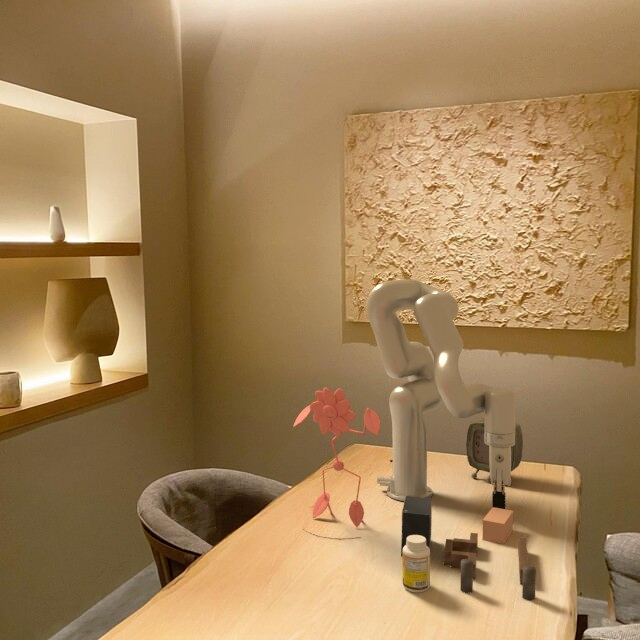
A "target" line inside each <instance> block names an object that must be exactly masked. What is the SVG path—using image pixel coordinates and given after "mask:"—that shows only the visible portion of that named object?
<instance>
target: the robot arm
mask: <svg viewBox="0 0 640 640" xmlns="http://www.w3.org/2000/svg"><path fill="white" fill-rule="evenodd" d="M365 307H366V314H367V318H368V319H367V320H368V321H369V323H370V327H371V330H372V332H373V334H374V338H375V342H376V344H377V347H378V352H379V355H380V358H381V363H382V365H383V368H384V371H385V373H386V374H387V376H388V377H390V378H392V379H393V380H394V379H395V380H400V379H405V378H407V382H403V383H401V384H399V385H398V386H396V387H395V388H393V390H392V391H391V393H390V395H389V401H388V402H389V403H388V404H389V405H388V406H389V411H390V416H391V423H392V424H391V427H392V434H391V435H392V476H388V477H384V476H377V478H376V482H377V485H378V484H379V486H380V487H387V488H386V494H387V496H388V497H389V498H391V499H394V500H396V501H401V502H405V497H406V496H411V497H421V498H432V496H433V490H432V488H431V487H429V486H428V485H427V484H428V483H427V482H428V480H427V479H428V477H427V475H428V471H427V470H428V430H427V424H426V422H425V417H424V414H426V413H429V412H431V411H434V410H436V409H437V408H438V407H440V404H441V403H442V401H443V403H444V406H445V407H446V410H448V411H449V413H450V414H451V415H452V416H453V417H456V418H457V419H466V418H470V417H472V416H475V415H478V414H483V413H484V418H485V428H484V443H485V444H486V445H489V468H490V472H489V479H490V484H491V485H492V486H493V487H492V488H493V490H492V493H491V494H492V495H491V496H492V497H491V500H492V503H491V506H492V507H495V508H500V509H506V491H505V488H506V487H505V486H508V487H510V486H512V485H511V481H512V480H511V479H512V478H511V477H512V472H511V446H514V445H515V423H516V412H517V411H516V409H517V408H516V407H517V406H516V404H517V403H516V402H517V401H516V400H517V397H516V393H515V391H514V390H512V389H511V388H505V387H493V386H490V385H486V384H482V383H472V384H469V385H465V384H464V382H463V379H462V377H461V373H460V371H459V359H460V355H461V353H462V351H463V348H464V341H463V339H462V337H461V335H460V333H459V330H458V329H457V326H456V324H455V323H454V321H455V319H456V318H457V316H458V314H459V305H458V301H457V300H456V298H455V297H454V296H453V295H451V294H450V293H448V292H447V291H444V290H442V289H440V288H436V287H434V286H432V285H429V284H427V283H425V282H422V281H419V280H417V279H393V280H387V281H383V282H381V283H379V284H377V285H375V286H374V287H373V288H372V290H371V291H370V293H369V295H368V297H367V300H366V306H365ZM406 310H412V311H413V314H414V315H413V316H414V317H415V319H416V322H417V323H418V326H419V328H420V330H421V332H422V334H423V336H424V339H425V341H426V343H427V345H428V347H429V349H428V348H427V346H426V345H424V344H423V343H421V342H419V341H409V339H408V336H407V334H406V329H405V327H404V324H403V323H402V321H401V320H400V318H399V317H398V316H397V312H398V311H406ZM430 351H431V352H430ZM431 353H432V354H431ZM432 355H433V356H432ZM492 507H491V508H492Z"/></svg>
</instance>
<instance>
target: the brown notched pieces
mask: <svg viewBox="0 0 640 640" xmlns="http://www.w3.org/2000/svg"><path fill="white" fill-rule="evenodd" d="M469 536H470V537H469V539H467V538H455V537H454V538H453V539H451V538H446V539H445V542H444V550H443V566H445V567H450V569H455V570H456V569H457V570H460V589H459V590H460V592H462V593H464V592H465V594H471V593H473V591H474V590H473V589H474V588H473V585H474V583H473V581H474V580H475V579H476V569H477V557H478V547H479V546H478V542H479V541H478V540H479V539H478V537H479V533H477V532H470V535H469ZM517 542H518V544H517V545H518V546H517V549H518V550H517V553H518V556H517V557H518V570H519V573H518V574H519V585H522V592H521V593H522V595H521V596H522V598H523V599H524V600H525V601H526V600H527V601H534V600H535V599H536V576H537V575H536V574H537V573H536V571H537V568H536V567H535V566H534V565H529V559H528V548H527V539H526V537H522V536H521V537H520V536H518V541H517ZM470 592H471V593H470Z"/></svg>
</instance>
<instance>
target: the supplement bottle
mask: <svg viewBox="0 0 640 640" xmlns="http://www.w3.org/2000/svg"><path fill="white" fill-rule="evenodd" d="M402 586H403V587H404V589H405V590H406V591H409V592H412V593H423V592H425V591H427V590H429V589H430V586H431V549H429V548H428V547H427V546H426V538H425V537H423V536H420V535H410V536H408V537H407V539H406V545H405V546H404V547H403V556H402Z"/></svg>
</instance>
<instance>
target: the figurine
mask: <svg viewBox="0 0 640 640" xmlns="http://www.w3.org/2000/svg"><path fill="white" fill-rule="evenodd" d="M314 396H315V399H316V401H313V402H311V404H310V405H307V406H306V407H305V408H303V410H302V411H301V412H300V413H299V414H298V416H297V417H296V419H295V421H294V423H293V427H292V428H295V427H297V426H299V425H300V424H301V423H303V422H304V421H305V420H306V419H307V418H308V416H309V415H310V413H311V412H313V415H312V421H313V422H314V423H316V424H319V429H320V432H321V434H322V435H327V434H329V432H331V433H332V434H333V435H334V437H333V438H331V442H330V444H331V446H332V451H333V454H334V456H335V459H336V460H335V461H334V462H333V464H332V466H329V467H326V468H323V469H322V484H323V485H322V486H323V493H322V494H321V495H320V496H319V497H318V498H317V499H316V500H315V502H314V504H313V505H312V506H309V508H312V509H313V510H312V518H313V519H314V518H317V517H318V516H320V515H321V514H323V513H324V512H325V511H326V509H327V508H328V511H329V514H333V511H332V508H331V506H330V499H331V498H330V494H329V493H328V492H326V487H325V485H326V484H325V471H328V470H329V469H332V468H333V470H335V471H337V472H340V471H343V470H344V471H345V472H348V473H349V474H352V475H354V476H356V477H358V485H357V491H356V492H357V493H356V499H354V500H352V501H351V502H350V505H349V508H348V515H349V518H350V520H351V522H352V523H353V525H354V526H355V527H356V528H358V527H360V525H361V523H362V521H363V519H364V517H365V515H364V514H365V510H364V507H363V504H362V503H361V501H359V492H360V488H361V486H360V485H361V479H362V477H361V476H360V475H358V474H356V473H355V472H352V471H350V470H348V469H346V468H344V467H345V464H344V462H343V461H342V460H341V459H338V455H337V450H336V447H335V443H334V441H336V440H337V438H340V437H341V436H342V434H343V433H348V432H351V433H355V434H358V435H365V434H366V431H367V430H368V431H369V432H370V433H371V434H372V435H375V436H376V437H378V436H379V433H380V429H381V427H382V425H381V419H380V417H379V414H377V412H376V411H375V410H373V409H371V408H370V407H367V408H366V410H365V412H364V413H363V423H364V425H363V430H362V431H359V430H354V429H351V427H350V424H349V423H350V422H353V421H354V420H355V419H356V417H357V415H356V413H355V412H354V411H353V410H350V407H351V402H350V401H351V400H349V399H346V398H345V397H346V395H345V393H344V391H343V389H342V388H339V387H338V388H337V389H336V391H334V392H333V391H332V390H331V389H329V388H328V387H324V388H323V390H316V391H315V392H314ZM366 429H367V430H366ZM302 530H304V531H305V532H306V533H309V534H310V535H313V536H315V537H318V538H322V539H324V538H325V539H328V537H326V536H322V535H321V536H320V535H317V534H314V533H311V532H309V531H307V530H305V528H303V529H302ZM359 538H361V536H358V537H356V539H359ZM330 539H331V540H332V539H333V540H338V541H343V540H344V541H345V540H352V539H355V537H349V538H336V537H334V538H332V537H329V540H330Z"/></svg>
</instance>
